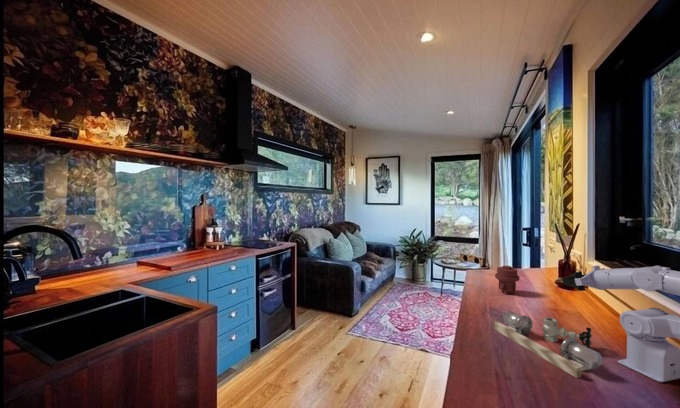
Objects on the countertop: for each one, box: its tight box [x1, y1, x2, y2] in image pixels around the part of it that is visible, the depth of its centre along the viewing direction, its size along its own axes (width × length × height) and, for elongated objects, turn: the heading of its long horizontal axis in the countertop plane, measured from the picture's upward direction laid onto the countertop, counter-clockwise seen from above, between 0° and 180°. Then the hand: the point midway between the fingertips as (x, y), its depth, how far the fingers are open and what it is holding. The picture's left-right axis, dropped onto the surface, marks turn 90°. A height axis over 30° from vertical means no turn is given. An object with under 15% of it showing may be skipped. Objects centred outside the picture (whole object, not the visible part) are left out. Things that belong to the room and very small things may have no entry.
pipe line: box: [502, 310, 603, 372], centre depth 92 cm, size 29×6×6 cm, turn 13°
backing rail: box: [493, 321, 582, 379], centre depth 91 cm, size 29×2×2 cm, turn 13°
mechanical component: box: [494, 265, 521, 295], centre depth 142 cm, size 12×10×10 cm
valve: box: [542, 316, 593, 350], centre depth 94 cm, size 7×7×12 cm
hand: (572, 279), depth 100 cm, fingers open, 7 cm apart
